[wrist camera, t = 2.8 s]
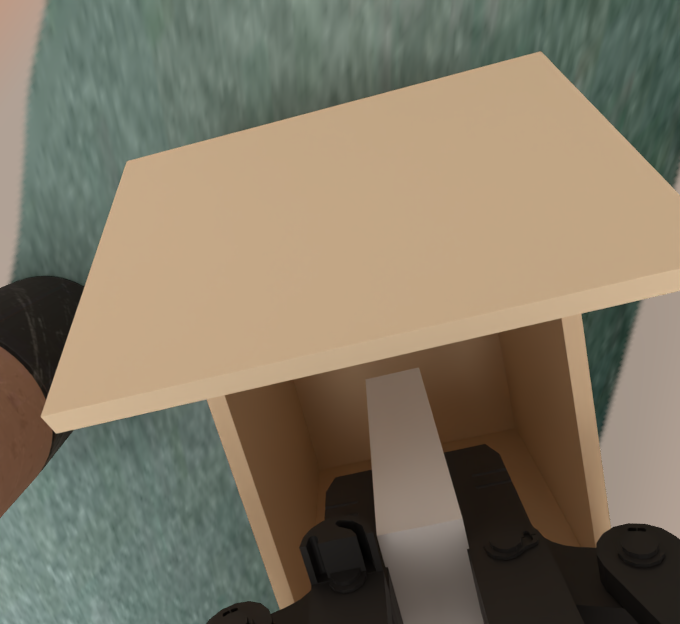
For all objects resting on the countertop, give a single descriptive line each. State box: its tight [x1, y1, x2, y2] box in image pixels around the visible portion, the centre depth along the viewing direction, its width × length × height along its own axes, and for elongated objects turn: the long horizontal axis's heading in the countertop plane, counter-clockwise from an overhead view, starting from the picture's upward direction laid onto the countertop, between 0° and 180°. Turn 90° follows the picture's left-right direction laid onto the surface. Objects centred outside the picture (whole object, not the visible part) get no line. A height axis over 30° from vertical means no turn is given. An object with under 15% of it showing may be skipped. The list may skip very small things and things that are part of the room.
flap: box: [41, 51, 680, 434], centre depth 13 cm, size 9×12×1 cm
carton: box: [207, 314, 611, 610], centre depth 25 cm, size 18×12×12 cm, turn 14°
